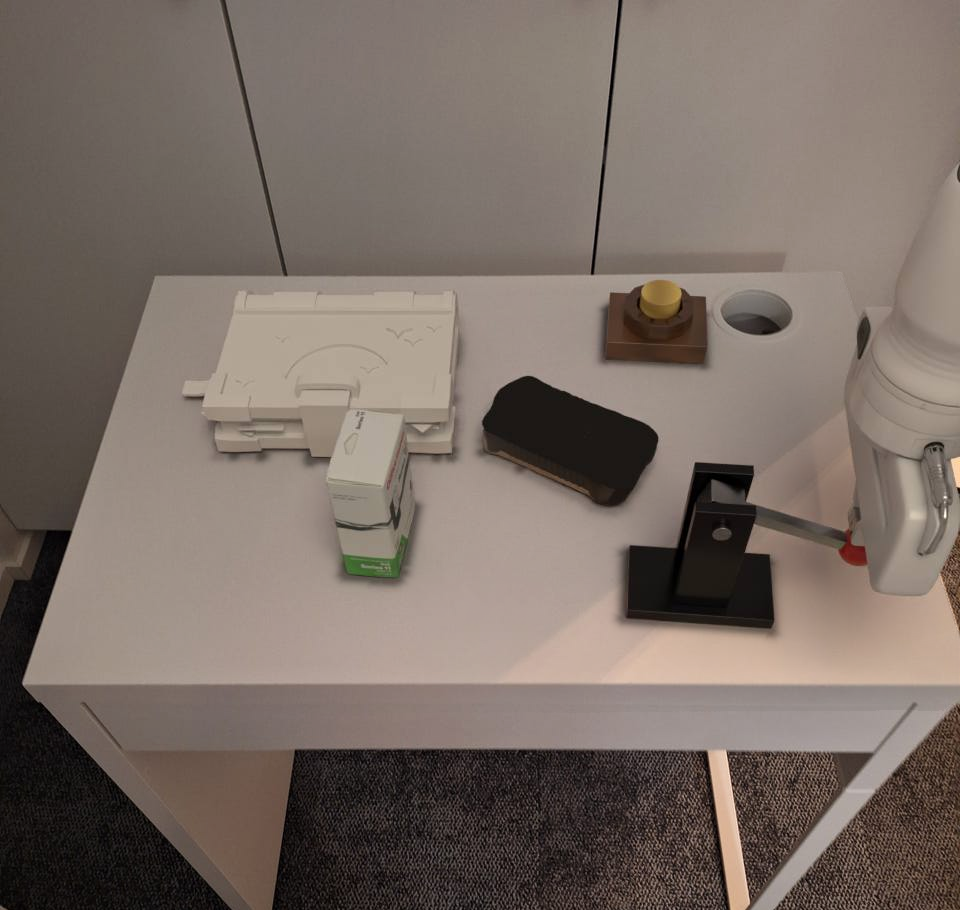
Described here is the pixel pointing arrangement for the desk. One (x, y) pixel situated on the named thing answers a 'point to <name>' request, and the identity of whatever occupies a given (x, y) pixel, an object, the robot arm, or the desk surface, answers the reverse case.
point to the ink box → (372, 491)
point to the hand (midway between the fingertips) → (859, 531)
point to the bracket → (705, 563)
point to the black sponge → (569, 439)
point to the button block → (656, 330)
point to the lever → (788, 522)
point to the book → (333, 368)
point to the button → (660, 299)
